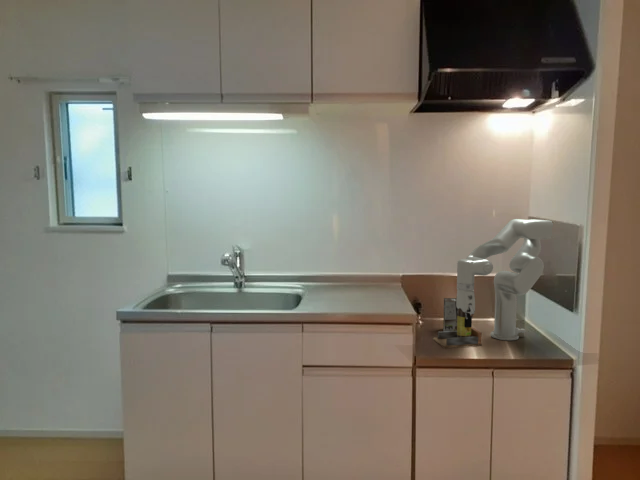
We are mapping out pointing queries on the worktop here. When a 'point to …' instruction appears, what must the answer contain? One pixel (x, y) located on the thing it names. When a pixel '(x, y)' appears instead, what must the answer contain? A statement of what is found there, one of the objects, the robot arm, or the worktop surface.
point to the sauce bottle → (462, 325)
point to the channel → (458, 339)
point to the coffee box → (450, 315)
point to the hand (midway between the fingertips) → (464, 324)
